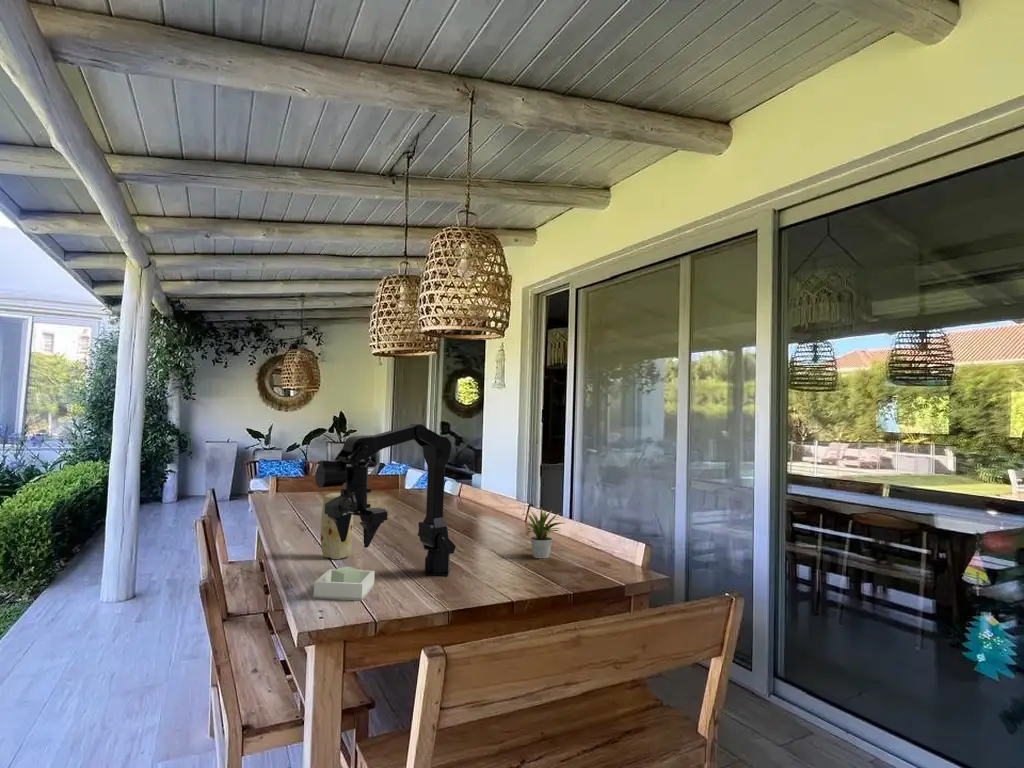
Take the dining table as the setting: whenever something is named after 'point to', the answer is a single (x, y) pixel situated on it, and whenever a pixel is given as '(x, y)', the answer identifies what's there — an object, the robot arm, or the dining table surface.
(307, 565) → the dining table surface
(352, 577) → the green block
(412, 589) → the dining table surface
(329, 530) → the food model
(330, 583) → the bin
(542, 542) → the house plant
